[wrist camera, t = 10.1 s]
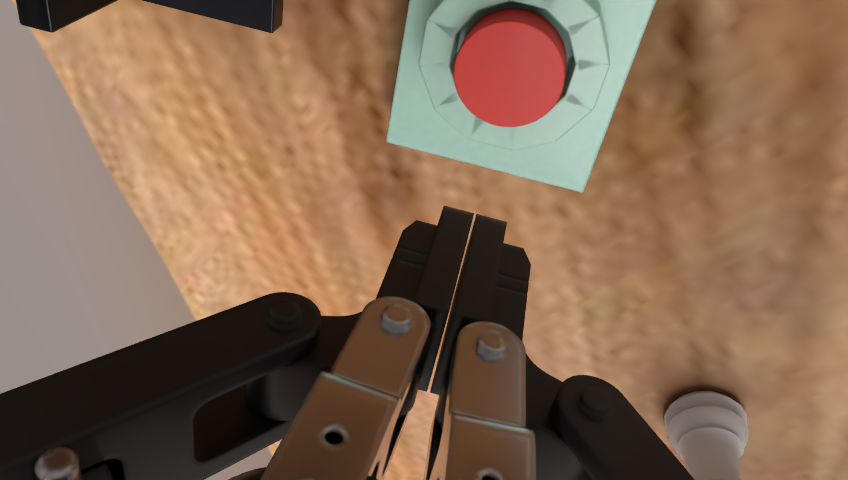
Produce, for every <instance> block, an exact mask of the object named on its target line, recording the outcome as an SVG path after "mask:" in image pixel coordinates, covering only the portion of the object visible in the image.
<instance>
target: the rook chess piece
mask: <svg viewBox="0 0 848 480" xmlns="http://www.w3.org/2000/svg"><path fill="white" fill-rule="evenodd" d="M664 420H665V427H666V428H667V438H668V440H669V442H670V443H671V445H672V446H673V448H674V449H675V450H676V452H678V454H679V455H680V457H681V458H682V460H684V461H685V463H686V466H687V469H688V472H689V473H690V475H691V476H692V477H693V478H694V479H695V480H741V479H740V457H741V456H742V454H743V452H744V447H745V446H746V444H747V442H748V428H749V427H748V426H747V414H746V413H745V411H744V410H743V408H742V406H741V405H740V404H738V403H737V402H735V401H734V400H732V399H731V398H729V397H727V396H726V395H724V394H720V393H716V392H713V391H695V392H692V393H688V394H685V395H683V396H681V397H680V398H678V399H677V400H676V401H674V402H673V403H672V404H671V405H670V406H669V408H668V410H667V411H666V413H665V415H664Z"/></svg>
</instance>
